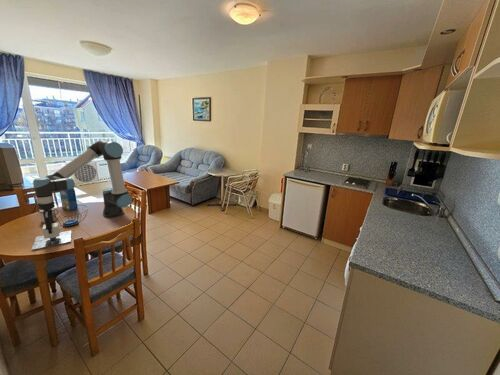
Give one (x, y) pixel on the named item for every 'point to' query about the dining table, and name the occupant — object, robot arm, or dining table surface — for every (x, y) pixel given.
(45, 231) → the white box
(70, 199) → the blue food package
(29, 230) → the dining table surface
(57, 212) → the teacup with lid
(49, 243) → the panel
